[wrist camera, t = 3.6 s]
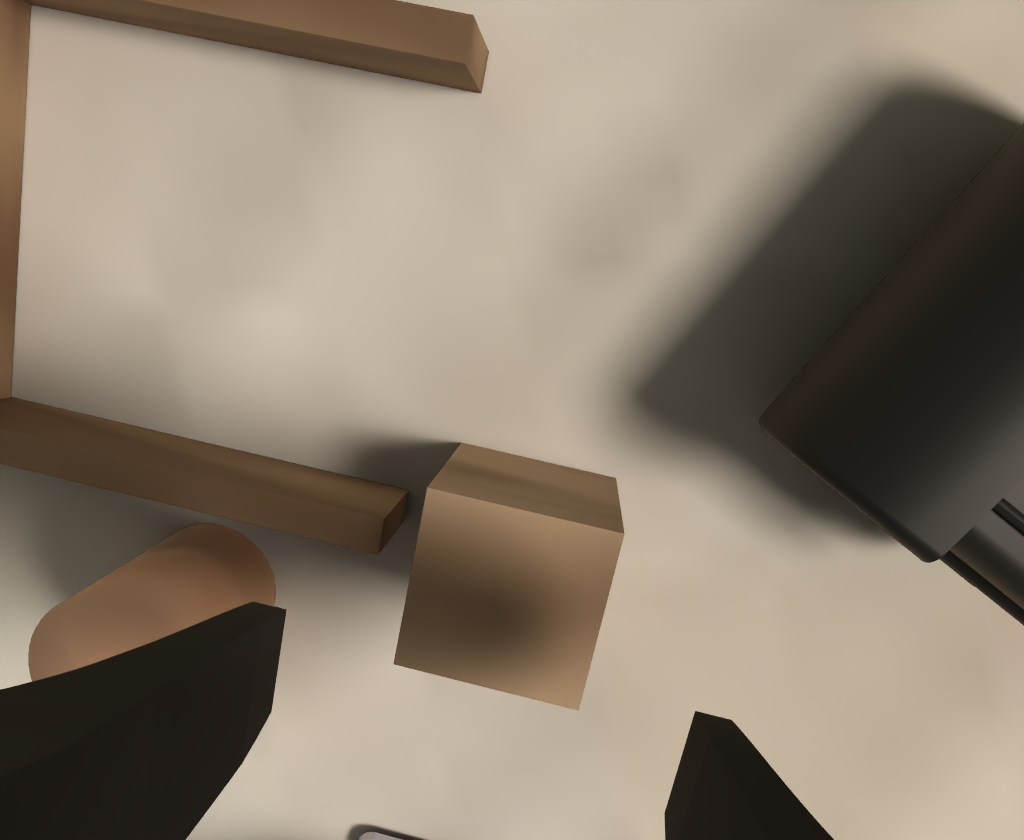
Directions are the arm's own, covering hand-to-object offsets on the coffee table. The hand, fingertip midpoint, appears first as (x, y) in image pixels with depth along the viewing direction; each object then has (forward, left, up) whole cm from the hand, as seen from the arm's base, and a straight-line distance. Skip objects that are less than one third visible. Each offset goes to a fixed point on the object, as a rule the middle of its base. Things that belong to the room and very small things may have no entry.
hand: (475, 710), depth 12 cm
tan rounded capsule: (-4, +9, -9) cm, 13 cm away
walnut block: (0, 0, -9) cm, 9 cm away
